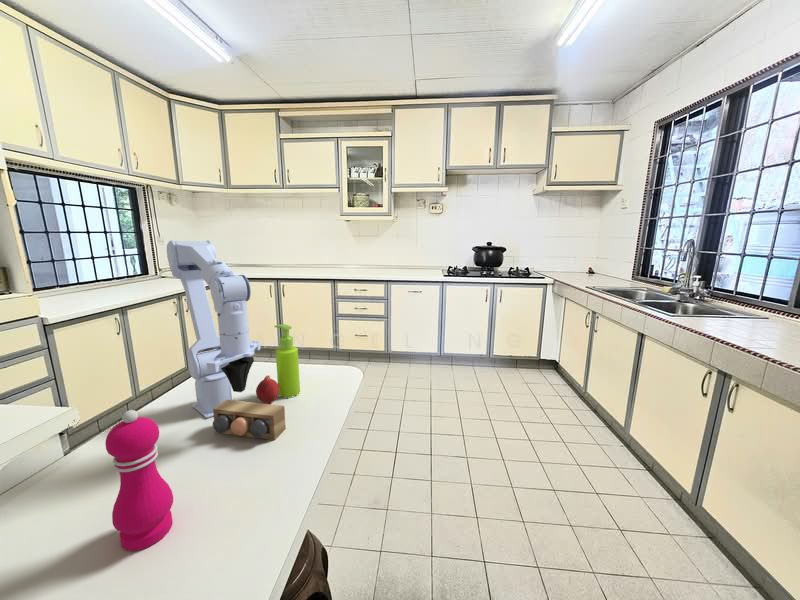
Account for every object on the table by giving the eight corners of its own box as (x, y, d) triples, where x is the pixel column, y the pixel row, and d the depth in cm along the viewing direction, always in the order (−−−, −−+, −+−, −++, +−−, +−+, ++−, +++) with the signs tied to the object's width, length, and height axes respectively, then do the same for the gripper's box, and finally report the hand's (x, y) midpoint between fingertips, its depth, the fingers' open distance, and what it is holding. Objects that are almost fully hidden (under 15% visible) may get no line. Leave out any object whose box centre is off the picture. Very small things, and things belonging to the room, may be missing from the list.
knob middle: (231, 434, 73) (229, 419, 73) (249, 419, 79) (247, 405, 79) (246, 436, 73) (244, 421, 72) (262, 421, 79) (261, 407, 78)
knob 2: (249, 437, 73) (248, 421, 72) (266, 421, 79) (265, 407, 78) (264, 438, 72) (263, 423, 71) (280, 423, 78) (279, 409, 77)
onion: (272, 410, 86) (270, 381, 85) (252, 408, 87) (250, 379, 86) (284, 399, 92) (282, 372, 90) (265, 397, 93) (263, 370, 92)
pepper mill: (138, 514, 54) (120, 399, 50) (186, 511, 54) (171, 397, 51) (103, 556, 47) (79, 426, 43) (158, 553, 47) (139, 423, 44)
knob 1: (213, 432, 74) (212, 417, 74) (232, 417, 80) (231, 403, 80) (227, 434, 74) (226, 419, 73) (245, 419, 80) (244, 405, 79)
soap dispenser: (289, 386, 101) (285, 321, 97) (304, 392, 97) (301, 325, 93) (272, 393, 96) (267, 325, 92) (286, 400, 92) (282, 329, 88)
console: (215, 432, 76) (213, 408, 75) (228, 421, 81) (226, 399, 80) (275, 440, 74) (273, 415, 73) (285, 428, 78) (284, 405, 77)
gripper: (226, 343, 64) (232, 408, 67) (270, 324, 78) (273, 379, 81) (195, 340, 66) (202, 404, 68) (243, 322, 80) (248, 376, 82)
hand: (239, 390), depth 74 cm, fingers closed
